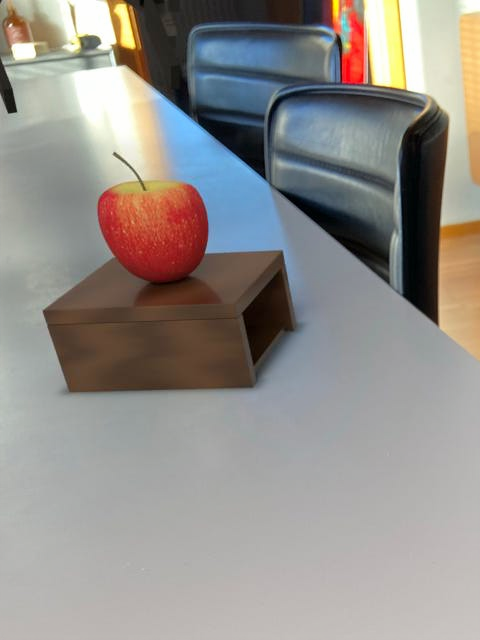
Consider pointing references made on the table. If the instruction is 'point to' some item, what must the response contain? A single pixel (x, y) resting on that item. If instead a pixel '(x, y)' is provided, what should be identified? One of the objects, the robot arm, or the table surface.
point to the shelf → (173, 325)
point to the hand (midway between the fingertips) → (95, 89)
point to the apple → (154, 227)
